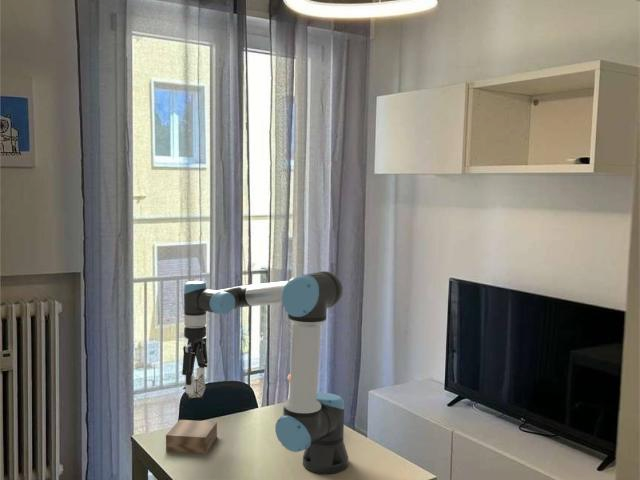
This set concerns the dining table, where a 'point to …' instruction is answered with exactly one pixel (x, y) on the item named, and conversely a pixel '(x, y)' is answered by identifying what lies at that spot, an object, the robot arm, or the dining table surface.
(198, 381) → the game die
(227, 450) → the dining table surface
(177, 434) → the walnut block
